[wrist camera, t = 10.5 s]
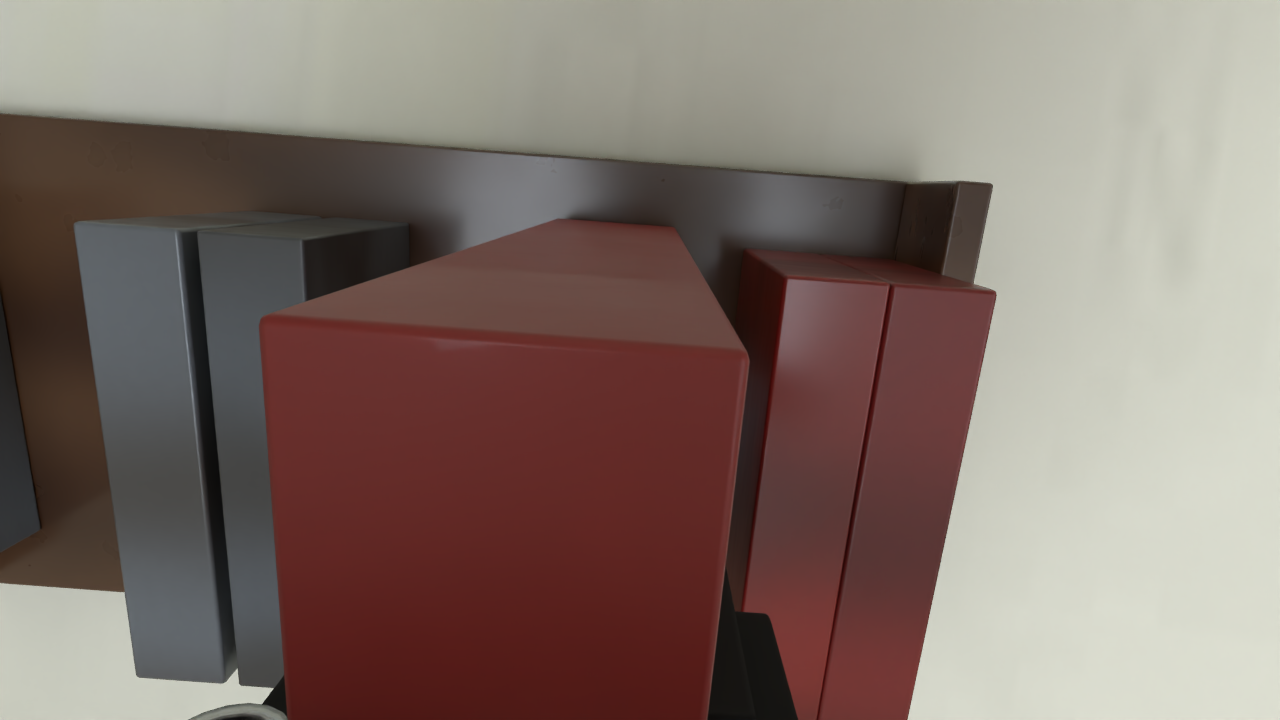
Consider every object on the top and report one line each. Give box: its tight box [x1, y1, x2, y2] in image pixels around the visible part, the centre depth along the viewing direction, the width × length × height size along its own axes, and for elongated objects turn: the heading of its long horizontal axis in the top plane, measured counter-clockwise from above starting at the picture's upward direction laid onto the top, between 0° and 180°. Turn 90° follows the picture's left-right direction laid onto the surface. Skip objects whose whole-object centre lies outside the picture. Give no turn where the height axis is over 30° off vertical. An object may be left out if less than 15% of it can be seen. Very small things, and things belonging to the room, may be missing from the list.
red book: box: [259, 218, 750, 720], centre depth 12 cm, size 11×3×13 cm, turn 176°
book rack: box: [0, 113, 996, 720], centre depth 17 cm, size 14×28×7 cm, turn 86°
